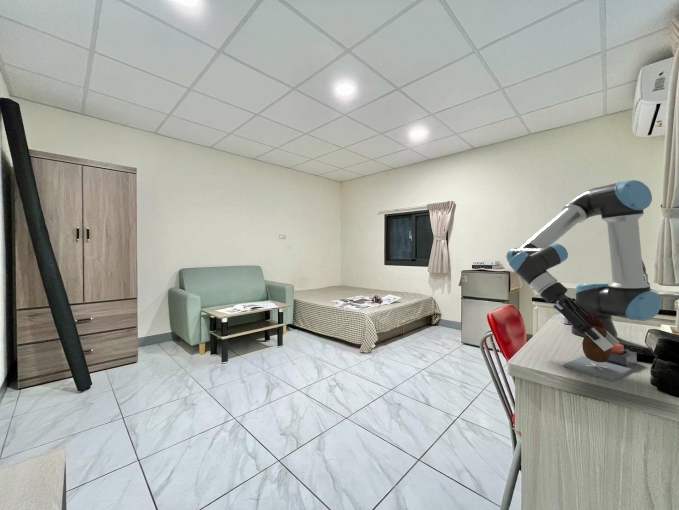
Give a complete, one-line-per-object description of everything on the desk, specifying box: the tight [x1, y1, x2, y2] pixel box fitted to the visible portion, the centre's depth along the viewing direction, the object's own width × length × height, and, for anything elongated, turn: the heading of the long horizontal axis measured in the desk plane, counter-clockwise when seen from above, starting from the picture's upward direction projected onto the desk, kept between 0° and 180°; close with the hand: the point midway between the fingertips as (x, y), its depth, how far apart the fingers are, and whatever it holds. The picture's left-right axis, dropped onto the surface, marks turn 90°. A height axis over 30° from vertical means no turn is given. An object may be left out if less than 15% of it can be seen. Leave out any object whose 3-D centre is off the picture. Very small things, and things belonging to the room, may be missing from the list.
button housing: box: [606, 349, 638, 368], centre depth 94 cm, size 9×9×4 cm
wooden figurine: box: [581, 312, 611, 362], centre depth 88 cm, size 7×6×15 cm
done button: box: [611, 343, 625, 355], centre depth 94 cm, size 5×5×3 cm
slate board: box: [562, 355, 632, 382], centre depth 88 cm, size 14×12×1 cm
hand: (611, 346), depth 84 cm, fingers closed on wooden figurine, 6 cm apart
